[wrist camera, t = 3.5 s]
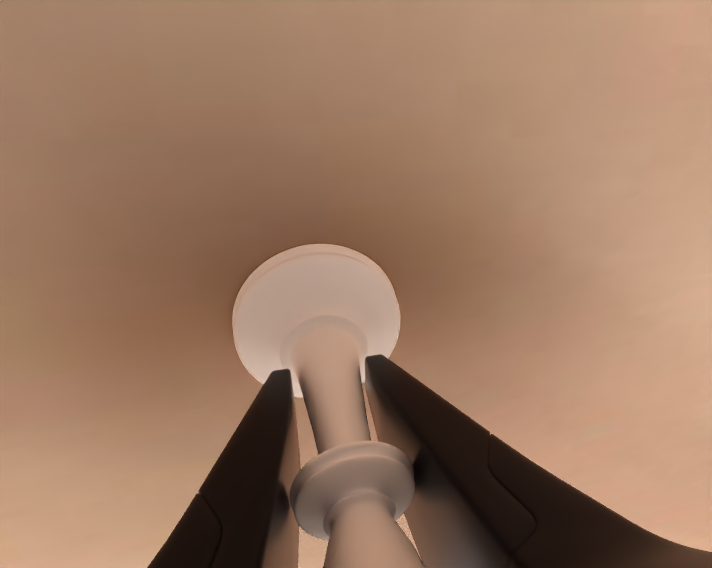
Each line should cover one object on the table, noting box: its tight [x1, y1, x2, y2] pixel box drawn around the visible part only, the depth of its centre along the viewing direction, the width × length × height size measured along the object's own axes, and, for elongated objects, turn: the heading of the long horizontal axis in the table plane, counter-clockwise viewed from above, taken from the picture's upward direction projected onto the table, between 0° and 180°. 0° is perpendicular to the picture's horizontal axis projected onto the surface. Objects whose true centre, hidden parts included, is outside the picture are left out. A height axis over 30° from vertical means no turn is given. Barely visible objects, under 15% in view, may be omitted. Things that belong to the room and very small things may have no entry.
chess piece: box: [232, 244, 426, 568], centre depth 7 cm, size 5×5×10 cm
